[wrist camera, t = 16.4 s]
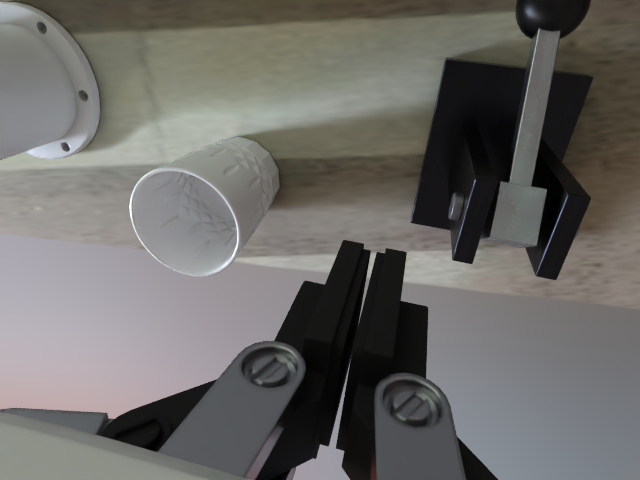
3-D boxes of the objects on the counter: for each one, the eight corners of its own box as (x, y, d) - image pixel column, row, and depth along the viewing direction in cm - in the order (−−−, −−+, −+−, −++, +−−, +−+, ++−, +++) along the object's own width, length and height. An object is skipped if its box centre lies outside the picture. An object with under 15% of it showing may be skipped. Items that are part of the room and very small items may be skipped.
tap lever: (514, -10, 24) (534, -54, 21) (579, -4, 24) (610, -48, 20) (466, 238, 24) (478, 234, 21) (530, 250, 23) (554, 248, 20)
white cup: (272, 120, 34) (216, 157, 26) (297, 211, 37) (255, 272, 29) (187, 138, 37) (110, 178, 28) (217, 222, 40) (157, 281, 31)
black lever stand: (445, 57, 29) (449, 86, 18) (587, 74, 28) (686, 116, 17) (411, 216, 35) (399, 311, 24) (527, 238, 34) (571, 348, 23)
